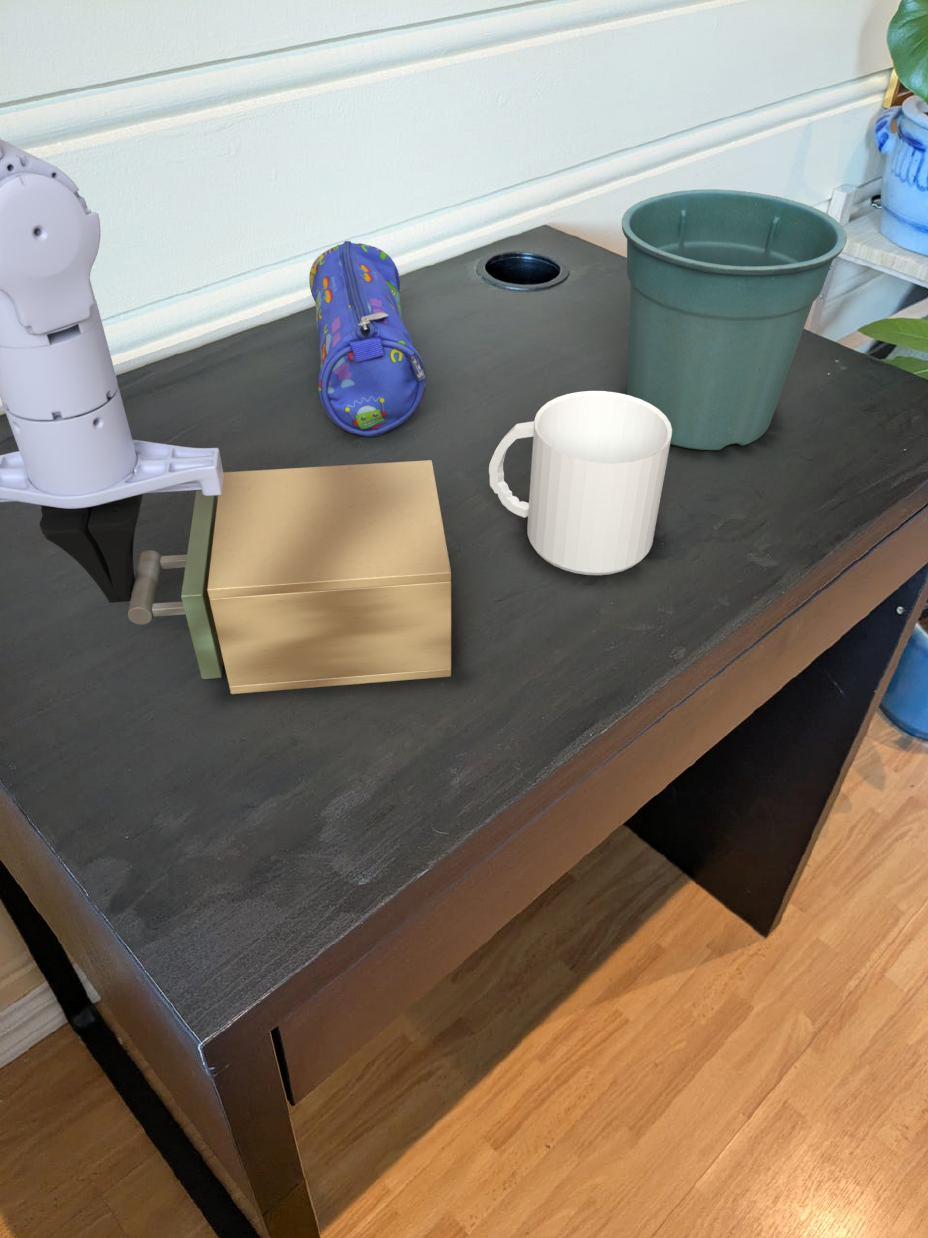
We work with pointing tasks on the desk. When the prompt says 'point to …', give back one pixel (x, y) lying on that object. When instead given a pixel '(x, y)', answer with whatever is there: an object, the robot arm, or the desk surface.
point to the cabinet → (330, 577)
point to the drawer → (184, 588)
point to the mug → (590, 480)
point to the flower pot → (721, 306)
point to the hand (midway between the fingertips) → (122, 591)
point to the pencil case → (364, 341)
